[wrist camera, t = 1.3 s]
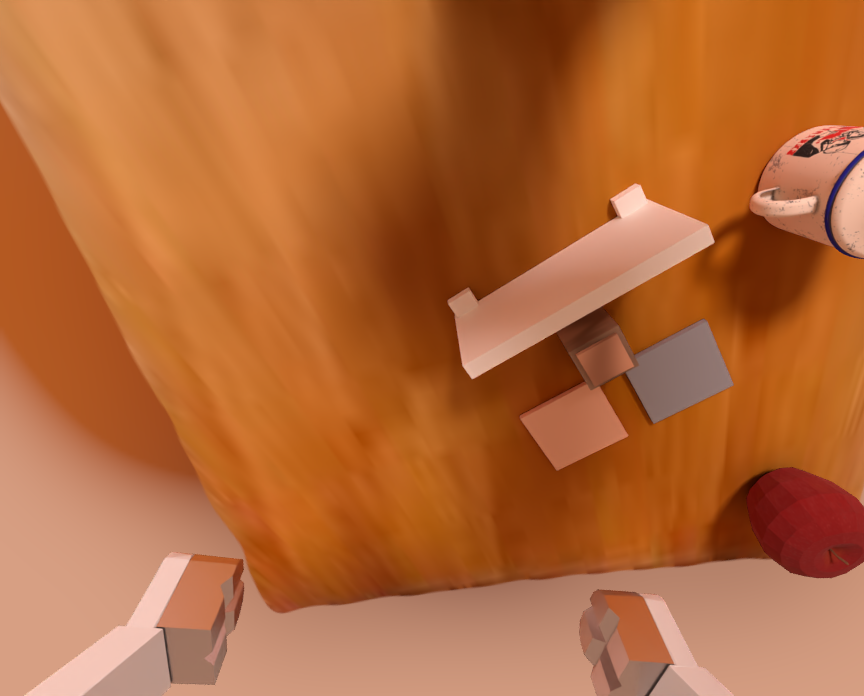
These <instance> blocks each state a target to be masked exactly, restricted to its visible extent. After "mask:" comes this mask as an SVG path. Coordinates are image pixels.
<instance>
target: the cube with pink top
mask: <svg viewBox="0 0 864 696" xmlns="http://www.w3.org/2000/svg"><path fill="white" fill-rule="evenodd" d="M556 333H557V335H558V337H559V338H560V340H561V342H562V343H563V345H564V347H565V348H566V350H567V352H568V353H569V355H570V357H571V358H572V360H573V362H574V363H575V365H576V367H577V368H578V370H579V372H580V373H581V375H582V377H583V379H584V380H585V382H586V384H587V385H588V387H589V389H590V390H593V389H595V388H597V387H599V386H601V385H603V384H605V383H607V382H609V381H611V380H612V379H614V378H616V377H618V376H620V375H622V374H624V373H626V372H628V371H630V370H632V369H634V368H635V367H637V366H639V363H638V361H637V360H636V358H635V356H634V354H633V352H632V350H631V348H630V346H629V344H628V342H627V340H626V339H625V337H624V335H623V333H622V331H621V329H620V327H619V325H618V324H617V323H616V322H615V321H614V320H613V319H612V317H611V316H610V315H609V314H608V313H607V312H606V311H605V310H604V309H603V307H602V306H601V307H600V308H598V309H596V310H594V311H593V312H591V313H589V314H587V315H585V316H584V317H582V318H580V319H578V320H577V321H575V322H573V323H571V324H570V325H568V326H566V327H564V328H562V329H561V330H559V331H557V332H556Z"/></svg>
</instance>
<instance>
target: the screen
mask: <svg viewBox="0 0 864 696" xmlns="http://www.w3.org/2000/svg"><path fill="white" fill-rule="evenodd" d="M610 201H611V203H612V205H613V207H614V209H615V211H616V214H617V217H616V218H614V219H612V220H611V221H609V222H607V223H606V224H604V225H602V226H601V227H599V228H597V229H596V230H594V231H593V232H591V233H589V234H588V235H586V236H584V237H583V238H581V239H579V240H578V241H576V242H574V243H573V244H571V245H570V246H568V247H566V248H565V249H563V250H561V251H560V252H558V253H556V254H555V255H553V256H551V257H550V258H548V259H547V260H545V261H543V262H542V263H540V264H538V265H537V266H535V267H533V268H532V269H530V270H528V271H527V272H525V273H524V274H522V275H520V276H519V277H517V278H515V279H514V280H512V281H510V282H509V283H507V284H505V285H504V286H502V287H501V288H499V289H497V290H496V291H494V292H492V293H491V294H489V295H487V296H486V297H484V298H482V299H481V300H479V301H477V299H476V298H475V296H474V295H473V293H472V291H471V290H470V288H469V287H468V288H466V289H465V290H463V291H461V292H460V293H458V294H457V295H455V296H453V297H452V298H450V299H449V300H447V301H448V305H449V306H450V308H451V309H452V311H453V312H454V313H455V322H456V328H457V335H458V341H459V347H460V353H461V360H462V366H463V367H464V369H465V370H466V371H467V373H468V374H469V375H470V377H471V378H472V379H474V378H476V377H477V376H479V375H481V374H483V373H484V372H486V371H488V370H490V369H491V368H493V367H495V366H497V365H499V364H500V363H502V362H504V361H506V360H507V359H509V358H511V357H513V356H515V355H516V354H518V353H520V352H522V351H523V350H525V349H527V348H529V347H530V346H532V345H534V344H536V343H538V342H539V341H541V340H543V339H545V338H546V337H548V336H550V335H552V334H554V333H555V332H557V331H559V330H561V329H562V328H564V327H566V326H568V325H570V324H571V323H573V322H575V321H577V320H578V319H580V318H582V317H584V316H585V315H587V314H589V313H591V312H593V311H594V310H596V309H598V308H600V307H601V306H603V305H605V304H607V303H609V302H610V301H612V300H614V299H616V298H617V297H619V296H621V295H623V294H624V293H626V292H628V291H630V290H632V289H633V288H635V287H637V286H639V285H640V284H642V283H644V282H646V281H648V280H649V279H651V278H653V277H655V276H656V275H658V274H660V273H662V272H663V271H665V270H667V269H669V268H671V267H672V266H674V265H676V264H678V263H679V262H681V261H683V260H685V259H687V258H688V257H690V256H692V255H694V254H695V253H697V252H699V251H701V250H702V249H704V248H706V247H708V246H710V245H711V244H713V243H715V242H714V239H713V236H712V234H711V231H710V228H709V226H708V224H705V223H703V222H701V221H698V220H696V219H693V218H691V217H689V216H686V215H684V214H681V213H679V212H677V211H674V210H672V209H669V208H667V207H665V206H662V205H660V204H657V203H655V202H653V201H650V200H648V199H646V197H645V195H644V193H643V190H642V188H641V186H640V185H638V184H634V185H632V186H631V187H629V188H627V189H626V190H624V191H623V192H621V193H619V194H618V195H616V196H614V197H613V198H611V199H610Z"/></svg>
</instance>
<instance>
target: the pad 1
mask: <svg viewBox="0 0 864 696" xmlns="http://www.w3.org/2000/svg"><path fill="white" fill-rule="evenodd" d="M519 417H520V419H521V421H522V422H523V424H524V425H525V427H526V428H527V429H528V431H529V432H530V434H531V435H532V436H533V438H534V439H535V441H536V442H537V443H538V445H539V446H540V448H541V449H542V451H543V452H544V453H545V455H546V456H547V458H548V459H549V460H550V462H551V463H552V465H553V466H554V468H555V469H556V470H557V471H558V470H560V469H562V468H564V467H566V466H568V465H570V464H572V463H574V462H576V461H578V460H580V459H582V458H584V457H586V456H588V455H591V454H593V453H595V452H597V451H599V450H601V449H603V448H605V447H607V446H609V445H611V444H613V443H615V442H617V441H619V440H622V439H624V438H626V437H628V434H627V433H626V431H625V429H624V427H623V426H622V424H621V422H620V421H619V419H618V417H617V415H616V414H615V412H614V410H613V409H612V407H611V405H610V403H609V402H608V400H607V398H606V397H605V395H604V393H603V391H602V390H601V388H600V386H599V387H597V388H595V389H593V390H590V389H589V387H588V385H587V384H586V382H585V381H584V382H582V383H581V384H579V385H577V386H575V387H573V388H571V389H569V390H567V391H565V392H564V393H562V394H560V395H558V396H556V397H554V398H552V399H550V400H548V401H546V402H545V403H543V404H541V405H539V406H537V407H535V408H533V409H531V410H529V411H528V412H526V413H524V414H522V415H520V416H519Z"/></svg>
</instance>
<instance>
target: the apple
mask: <svg viewBox="0 0 864 696" xmlns="http://www.w3.org/2000/svg"><path fill="white" fill-rule="evenodd" d="M746 501H747V508H748V512H749V518H750V522H751V526H752V530H753V532H754V534H755V535H756V537H757V539H758V541H759V543H760V545H761V546H762V548H763V550H764V552H765V553H766V554H767V555H768V556H769V557H771V558H772V559H773V560H774V561H775V562H777V563H778V564H779V565H781V566H782V567H784V568H785V569H786V570H788V571H789V572H790V573H794V574H798V575H802V576H807V577H814V578H833V577H836V576H839V575H842V574H845V573H847V572H849V571H850V570H852V569H853V568H855V567H857V566H858V565H860V564H861V563H863V562H864V507H863V505H862V504H861V503H860V502H859V500H858V499H857V498H856V497H854V496H853V495H851V494H850V493H848V492H847V491H845V490H844V489H842V488H840V487H839V486H837V485H836V484H834V483H833V482H831V481H829V480H826V479H823V478H821V477H818V476H816V475H813V474H810V473H808V472H805V471H803V470H799V469H796V468H793V467H790V468H779V469H777V470H774V471H772V472H769V473H767V474H765V475H763V476H762V477H761V478H760V479H759V480H758V481H757V482H756V483H755V484H754V485H753V487H752V488H751V489H750V490H749V493H748V495H747V498H746Z"/></svg>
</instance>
